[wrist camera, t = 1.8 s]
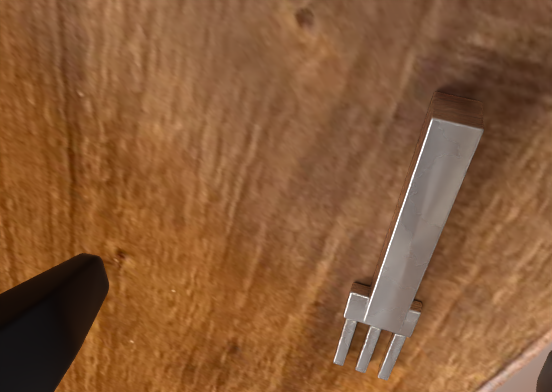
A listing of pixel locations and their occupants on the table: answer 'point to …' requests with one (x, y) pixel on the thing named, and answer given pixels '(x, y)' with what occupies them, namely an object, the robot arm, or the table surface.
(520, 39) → the table surface
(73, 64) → the table surface
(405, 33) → the table surface
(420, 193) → the fork
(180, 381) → the table surface
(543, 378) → the robot arm
